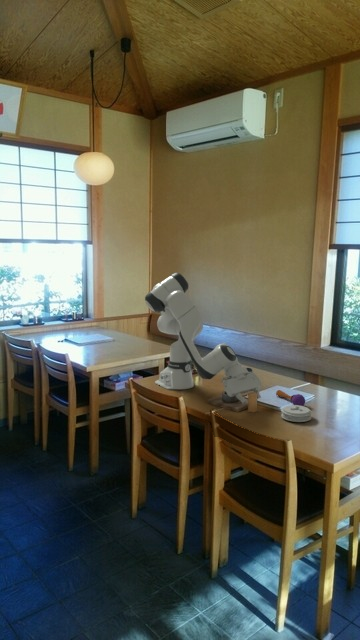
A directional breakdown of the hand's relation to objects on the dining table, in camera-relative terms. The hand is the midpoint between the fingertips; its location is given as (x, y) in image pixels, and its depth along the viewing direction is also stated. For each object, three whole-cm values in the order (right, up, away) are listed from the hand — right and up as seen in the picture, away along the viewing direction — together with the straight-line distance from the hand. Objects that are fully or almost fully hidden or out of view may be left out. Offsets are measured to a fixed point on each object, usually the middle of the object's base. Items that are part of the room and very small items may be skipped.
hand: (251, 400), depth 208 cm
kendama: (+20, -4, +13) cm, 24 cm away
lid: (+18, -7, -9) cm, 21 cm away
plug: (0, -5, +1) cm, 5 cm away
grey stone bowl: (-8, -2, +11) cm, 14 cm away
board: (-8, -4, +11) cm, 14 cm away
